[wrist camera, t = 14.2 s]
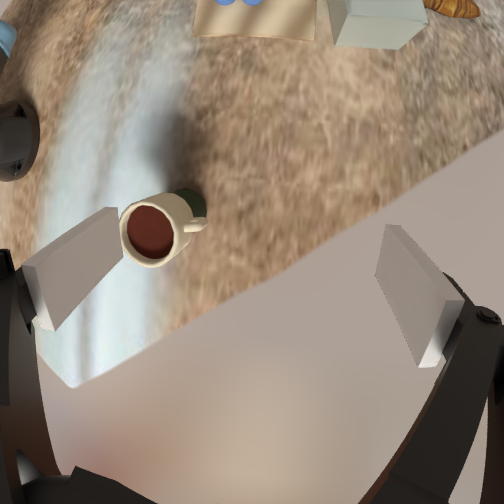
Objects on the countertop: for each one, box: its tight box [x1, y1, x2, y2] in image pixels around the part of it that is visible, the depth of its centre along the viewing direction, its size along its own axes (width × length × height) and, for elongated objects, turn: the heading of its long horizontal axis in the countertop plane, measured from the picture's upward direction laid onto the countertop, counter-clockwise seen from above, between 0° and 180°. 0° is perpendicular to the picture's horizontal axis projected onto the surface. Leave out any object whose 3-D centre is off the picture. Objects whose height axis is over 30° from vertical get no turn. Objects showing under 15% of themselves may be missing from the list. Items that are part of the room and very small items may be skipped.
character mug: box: [119, 189, 208, 268], centre depth 37 cm, size 11×7×13 cm, turn 95°
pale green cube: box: [327, 0, 428, 50], centre depth 26 cm, size 9×9×11 cm
